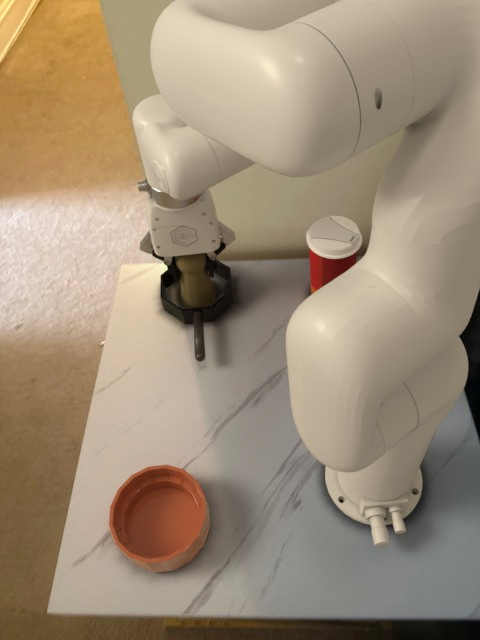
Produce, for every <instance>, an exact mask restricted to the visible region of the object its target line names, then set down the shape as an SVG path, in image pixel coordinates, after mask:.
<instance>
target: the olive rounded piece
mask: <svg viewBox="0 0 480 640" xmlns="http://www.w3.org/2000/svg"><path fill="white" fill-rule="evenodd" d="M175 263H176V266H177V267H178V269H179V270H180V276H181V277H180V296H181V297H180V298H181V302H182V304H183V305H184V306H185V307H186V308H188V309H190V308H199V307H208V306H211V305H213V304H214V302H215V300H216V297H217V293H216V288H215V285H214V284H213V281H212V278H211V277H210V276H209V271H208V270H207V267H206V263H207V253H199V254H191V255H182V256H175Z"/></svg>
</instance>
